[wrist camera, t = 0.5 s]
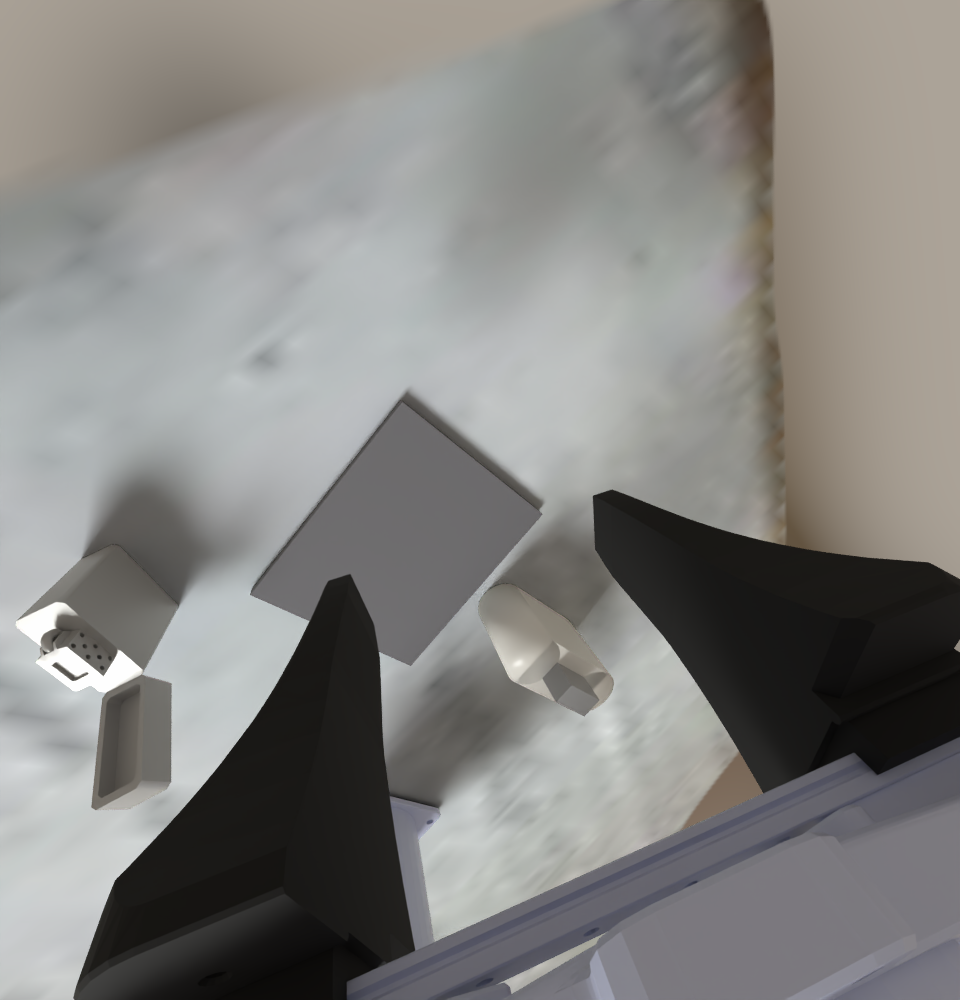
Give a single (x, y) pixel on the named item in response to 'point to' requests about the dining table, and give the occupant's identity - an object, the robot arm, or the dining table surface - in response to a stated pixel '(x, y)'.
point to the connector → (543, 650)
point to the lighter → (112, 667)
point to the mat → (402, 535)
